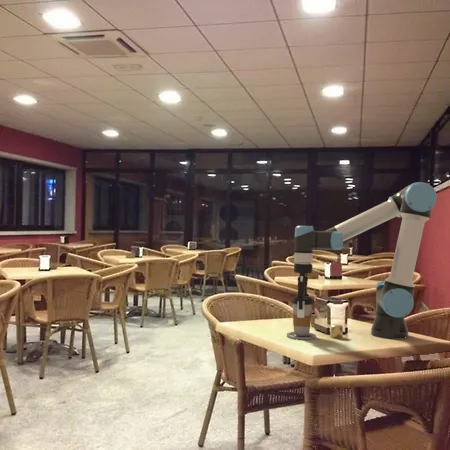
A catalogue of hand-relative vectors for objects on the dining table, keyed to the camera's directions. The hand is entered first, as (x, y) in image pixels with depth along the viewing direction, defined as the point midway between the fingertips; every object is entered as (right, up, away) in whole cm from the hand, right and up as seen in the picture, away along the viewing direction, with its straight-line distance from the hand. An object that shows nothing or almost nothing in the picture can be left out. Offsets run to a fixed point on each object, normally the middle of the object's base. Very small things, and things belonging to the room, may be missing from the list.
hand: (301, 314), depth 218 cm
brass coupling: (+14, -10, +1) cm, 17 cm away
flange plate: (0, -9, 0) cm, 9 cm away
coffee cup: (0, -8, 0) cm, 8 cm away
